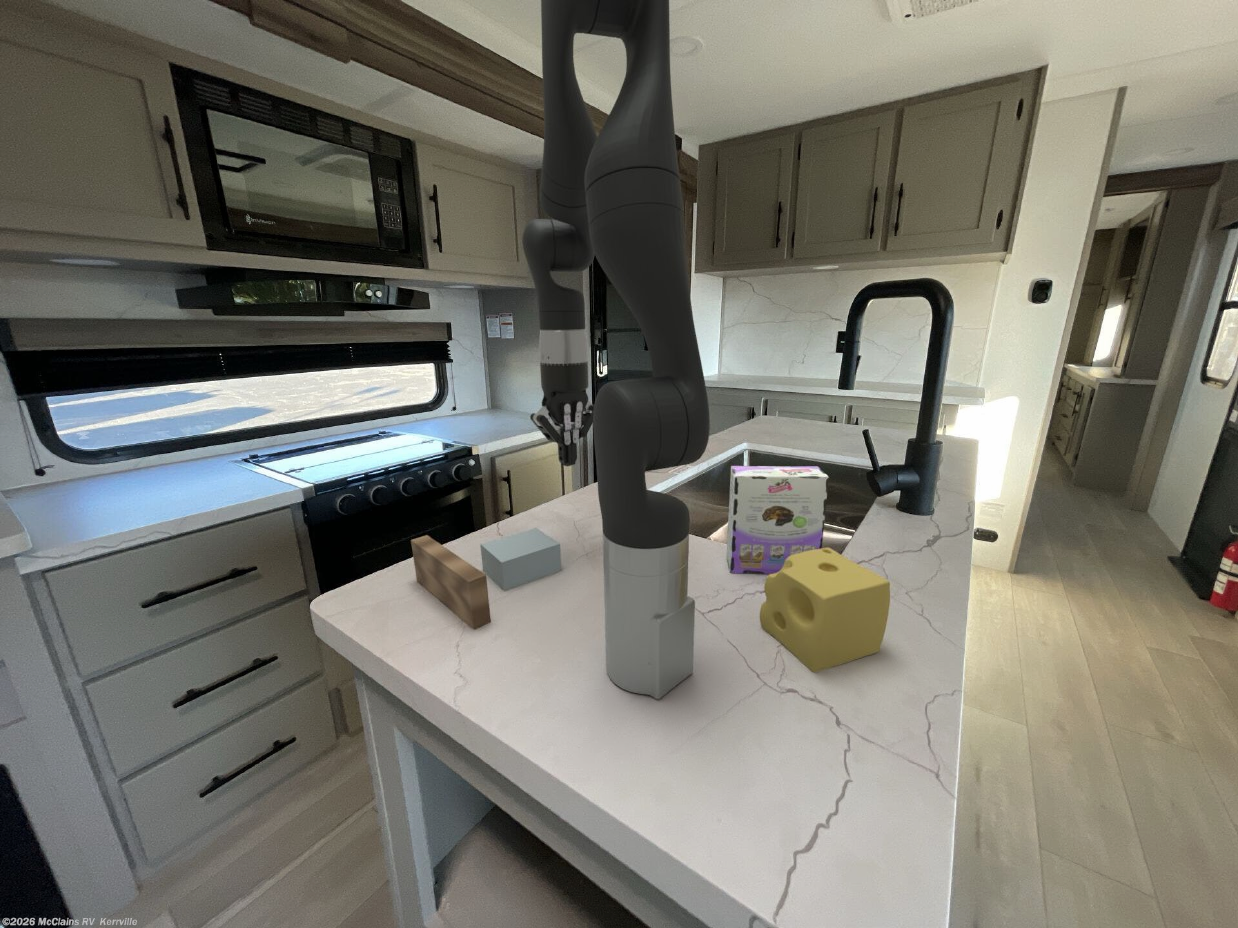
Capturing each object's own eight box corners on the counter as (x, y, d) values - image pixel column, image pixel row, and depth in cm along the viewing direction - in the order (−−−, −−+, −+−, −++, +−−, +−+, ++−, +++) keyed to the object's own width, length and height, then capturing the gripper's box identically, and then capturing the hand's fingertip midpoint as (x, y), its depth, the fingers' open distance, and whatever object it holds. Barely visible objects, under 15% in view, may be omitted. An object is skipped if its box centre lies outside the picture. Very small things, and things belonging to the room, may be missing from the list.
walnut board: (490, 621, 67) (486, 574, 65) (473, 629, 65) (468, 581, 63) (432, 575, 79) (426, 535, 77) (416, 580, 78) (410, 539, 76)
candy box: (809, 559, 83) (819, 464, 78) (819, 577, 77) (831, 476, 72) (725, 556, 84) (730, 463, 79) (729, 574, 78) (734, 474, 74)
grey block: (561, 571, 80) (560, 543, 79) (504, 592, 74) (501, 562, 73) (537, 554, 86) (536, 527, 85) (483, 572, 81) (480, 543, 79)
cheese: (757, 626, 65) (763, 557, 62) (823, 609, 69) (831, 543, 66) (814, 678, 56) (823, 599, 53) (886, 654, 59) (898, 580, 56)
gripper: (543, 364, 71) (549, 478, 76) (610, 358, 80) (612, 461, 85) (514, 361, 76) (522, 468, 81) (580, 355, 85) (583, 452, 90)
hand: (568, 464), depth 83 cm, fingers closed
